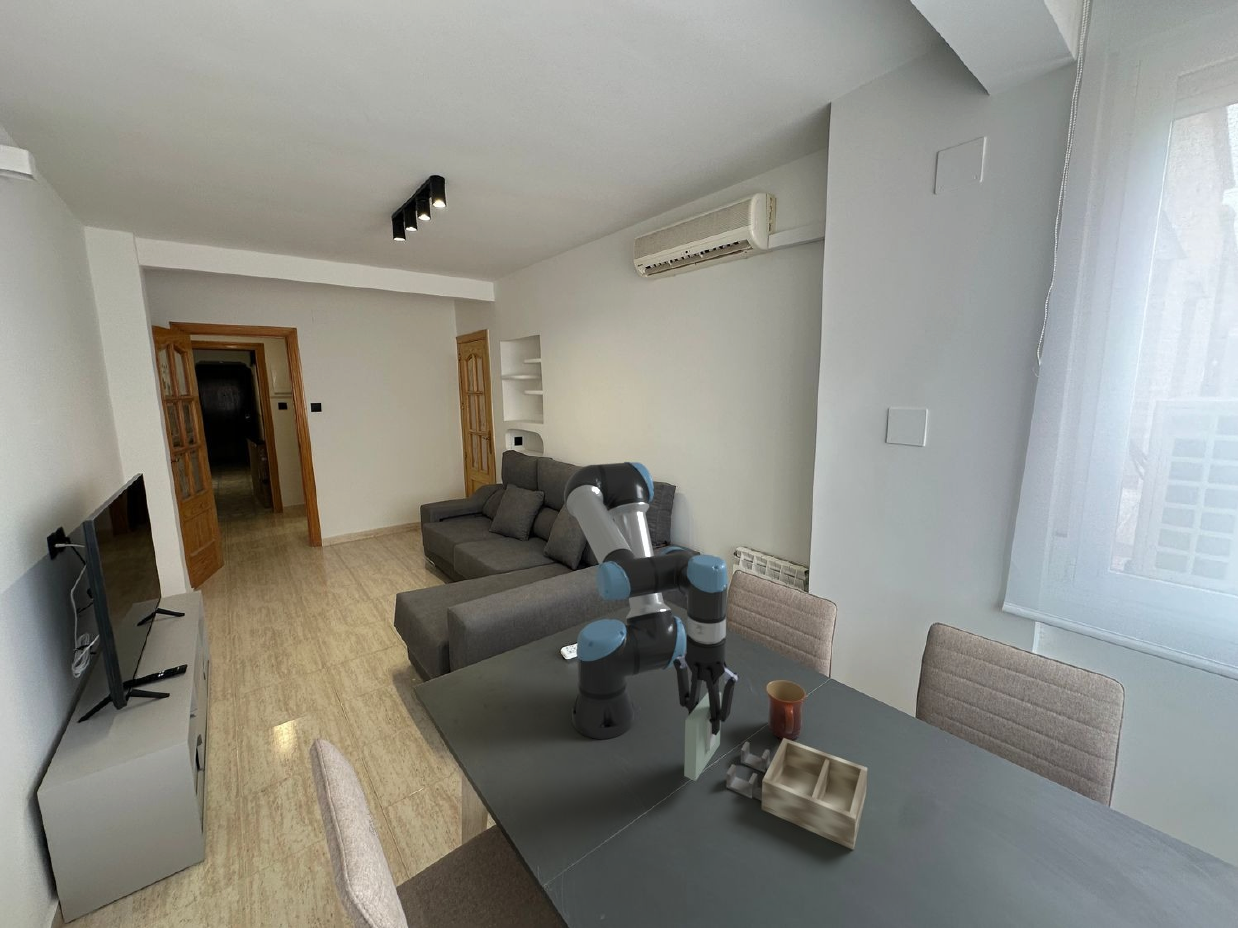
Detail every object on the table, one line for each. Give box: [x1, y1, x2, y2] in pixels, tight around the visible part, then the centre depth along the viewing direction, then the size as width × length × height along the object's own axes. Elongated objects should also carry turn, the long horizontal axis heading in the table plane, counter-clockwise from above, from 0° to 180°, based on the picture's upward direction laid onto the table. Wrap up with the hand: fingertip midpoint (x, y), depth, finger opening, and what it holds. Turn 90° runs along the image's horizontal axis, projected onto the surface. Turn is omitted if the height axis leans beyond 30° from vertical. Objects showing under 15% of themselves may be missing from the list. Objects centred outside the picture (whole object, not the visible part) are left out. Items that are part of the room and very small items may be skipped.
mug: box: [765, 679, 807, 741], centre depth 115 cm, size 12×9×10 cm
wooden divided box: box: [726, 738, 868, 851], centre depth 99 cm, size 24×14×6 cm, turn 56°
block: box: [683, 691, 722, 782], centre depth 102 cm, size 3×12×12 cm, turn 147°
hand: (703, 742), depth 103 cm, fingers closed on block, 2 cm apart
